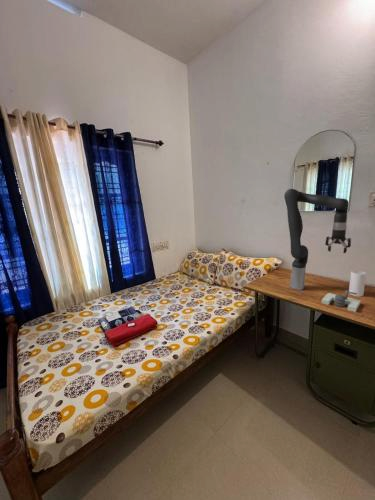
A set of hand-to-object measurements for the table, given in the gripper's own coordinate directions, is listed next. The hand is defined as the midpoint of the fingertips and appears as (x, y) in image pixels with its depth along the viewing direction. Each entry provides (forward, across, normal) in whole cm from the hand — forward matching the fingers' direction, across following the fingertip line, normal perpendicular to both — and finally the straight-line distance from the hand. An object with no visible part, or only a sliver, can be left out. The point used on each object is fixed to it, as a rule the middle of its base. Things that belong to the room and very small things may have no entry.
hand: (336, 252), depth 149 cm
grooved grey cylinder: (+30, +8, -18) cm, 36 cm away
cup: (+30, +12, +8) cm, 34 cm away
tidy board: (+30, +8, -15) cm, 35 cm away
